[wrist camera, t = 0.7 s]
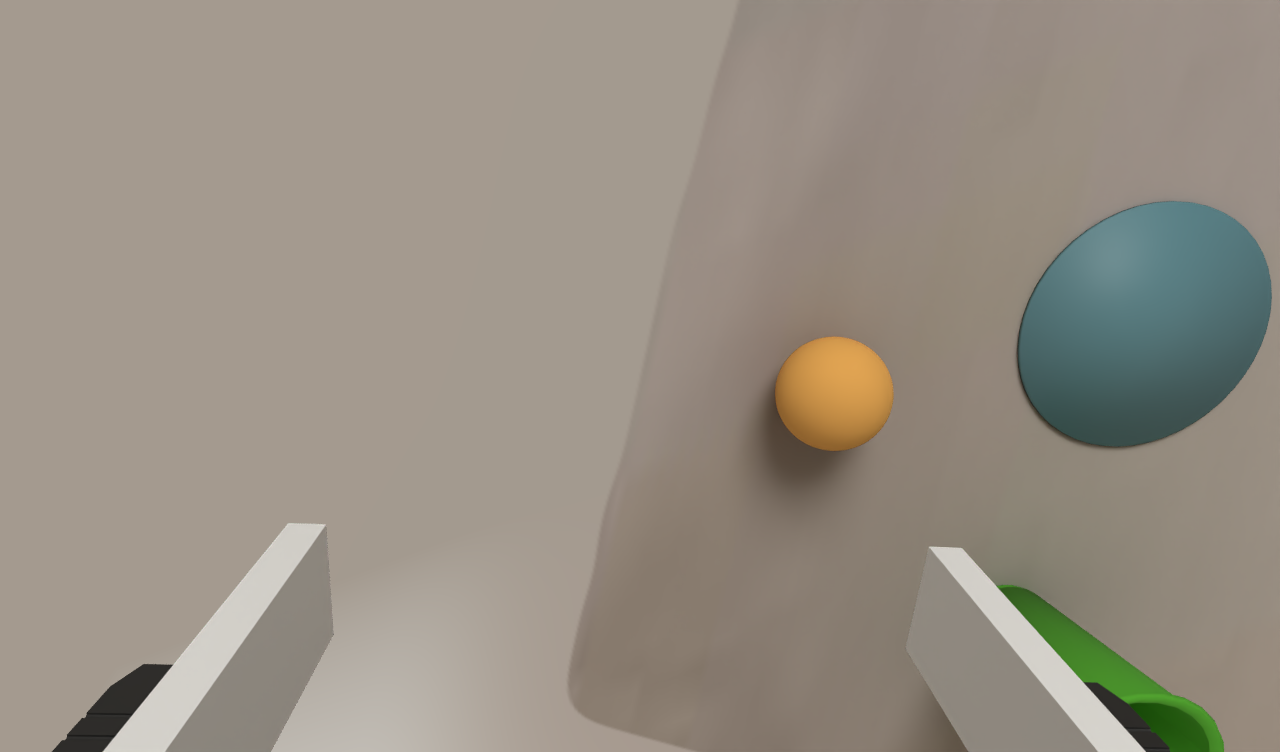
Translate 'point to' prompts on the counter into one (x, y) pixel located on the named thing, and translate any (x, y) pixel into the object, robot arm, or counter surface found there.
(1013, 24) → the counter surface
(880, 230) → the counter surface
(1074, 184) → the counter surface
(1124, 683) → the green tapered cylinder
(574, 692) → the counter surface
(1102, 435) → the teal ellipsoid
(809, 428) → the ball
